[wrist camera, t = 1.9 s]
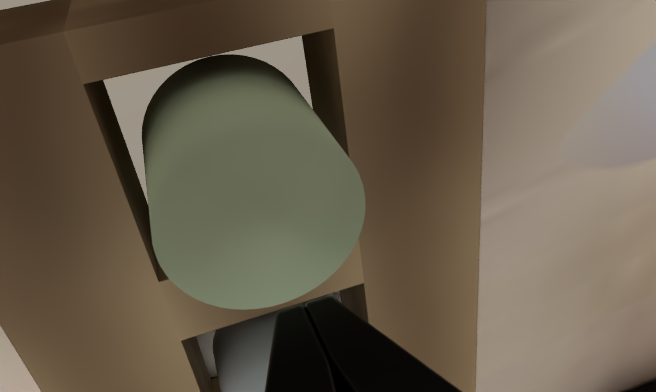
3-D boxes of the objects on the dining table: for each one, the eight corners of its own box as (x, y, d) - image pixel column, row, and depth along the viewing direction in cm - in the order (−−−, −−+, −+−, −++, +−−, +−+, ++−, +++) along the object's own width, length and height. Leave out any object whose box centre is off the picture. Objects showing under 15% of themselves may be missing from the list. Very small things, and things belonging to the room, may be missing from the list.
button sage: (295, 37, 13) (354, 100, 10) (318, 184, 15) (373, 274, 12) (118, 77, 12) (119, 159, 9) (168, 225, 15) (184, 334, 11)
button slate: (331, 268, 17) (383, 369, 14) (345, 359, 19) (393, 464, 16) (197, 310, 16) (219, 426, 13) (229, 399, 18) (253, 518, 15)
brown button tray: (424, -72, 14) (487, -56, 12) (438, 433, 26) (472, 495, 23) (-100, 29, 12) (-154, 76, 10) (172, 534, 24) (179, 614, 21)
